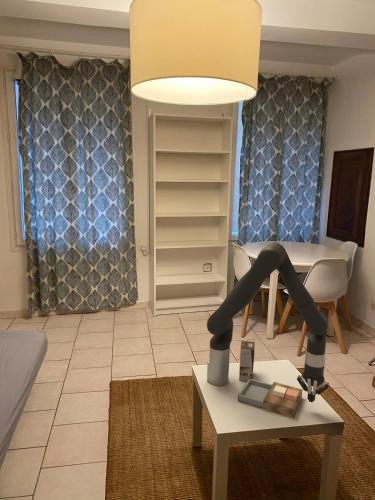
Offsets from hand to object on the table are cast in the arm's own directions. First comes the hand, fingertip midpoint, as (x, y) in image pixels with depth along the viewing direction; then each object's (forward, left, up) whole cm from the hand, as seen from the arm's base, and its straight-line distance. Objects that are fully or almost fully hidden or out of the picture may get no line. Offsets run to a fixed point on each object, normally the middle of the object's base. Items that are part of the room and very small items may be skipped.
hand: (311, 401), depth 156 cm
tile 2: (-8, 0, -1) cm, 8 cm away
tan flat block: (-11, 0, -5) cm, 12 cm away
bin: (-23, 0, -5) cm, 23 cm away
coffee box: (-32, +13, -5) cm, 35 cm away
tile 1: (-13, 0, -1) cm, 13 cm away
